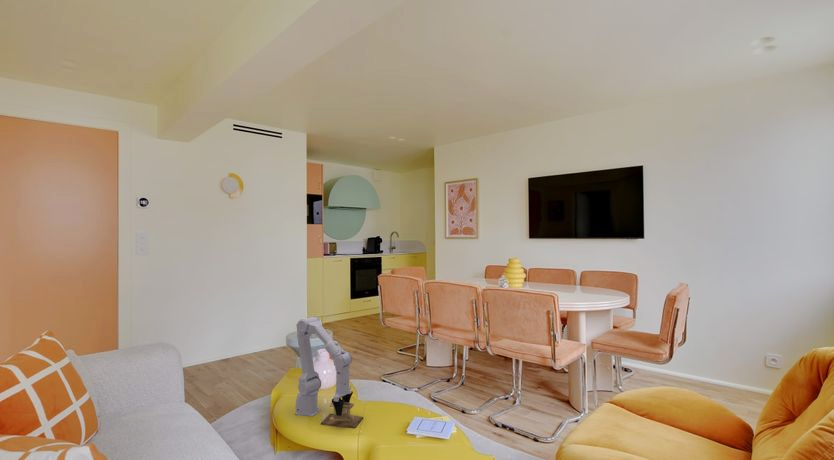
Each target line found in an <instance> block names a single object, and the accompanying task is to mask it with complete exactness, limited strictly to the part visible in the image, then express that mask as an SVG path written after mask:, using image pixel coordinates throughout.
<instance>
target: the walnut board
mask: <svg viewBox="0 0 834 460" xmlns="http://www.w3.org/2000/svg"><path fill="white" fill-rule="evenodd" d="M333 414H334V413H329V414H328V415H327V416H326V417H325V418H324V419H323V420H322V421H321V422H320V425H321V426H329V427H340V428H346V429H347V428H350V429H356V428H357V427H358V426H359V424H361V422H362V420H364V416H362V415H361V416H360V415H351V414H350V416H353V417H354V420H353V421H352V422H351V423H349V422H340V421H330V417H331V416H332V415H333Z"/></svg>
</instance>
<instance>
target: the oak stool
mask: <svg viewBox="0 0 834 460" xmlns="http://www.w3.org/2000/svg"><path fill="white" fill-rule="evenodd" d="M354 406H355V403H354V402H344V404H343V409H342V415H341V416H337V415H336V411H335V408H334V405H333V403H332V402H331V403H329V407H331V408H333V413H332V414H333V415H332V416H331V417H330V421H340V422H349V423H351V422H352V421H353V420H354V417H353V416H354V415H351V409H352V408H353V407H354ZM350 415H351V416H350Z"/></svg>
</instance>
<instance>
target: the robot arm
mask: <svg viewBox="0 0 834 460" xmlns="http://www.w3.org/2000/svg"><path fill="white" fill-rule="evenodd" d="M295 326H296V332H297V335H296V336H297V344H298V352H299V357H300V365H301V371H302V372H301V375H300V377H299V378H298V386H297V389H298V393H297V395H296V398H295V413H294V415H298V416H306V417H314V416H316V415H317V414H318V413H319V412H320V411H321V408H320V407H318V400H319V399H318V398H319V395H318V393H319V392H320V389H321V387H322V380H321V378H320V376H319V372H317V371H315V366H314V360H313V353H312V347H311V340H310V339H311V338H310V337H311V336H312V335H313V334H314V335H316V337H318V339H319V340H320V341H321V342H322V343H323V344H324V345H325V350H326V352H327V353H328V355H330V357H331V358H332V359H333V365H334V367H335V371H336V372H335V373H336V374H335V375H336V376H335V377H336V378H335V387H336V390H335V392H334V396H333V398H332V399H331V403H333V405H334V407H333V409H334V408H335V411H336V415H337V416H341V415H342V409H343V404H344V402H349V403H351V399H352V397H353V396H352V395H353V393H354V391H353V390H352V389H351V387H352V385H350V365H351V364H352V362H353V357H352V355H351V353H350V352H349V351H346V350H344V349H343V348H342V347H341V346H340V344H339V342H338V341H336V340H333V339H332V337H330V335H329V334H328V332H327V331H326V329H325V328H324V326H323V322H322V321H321V319H320V318H319V316H311V317H307V318H306V317H305V318H301V319H299V321H297V322H296V325H295Z"/></svg>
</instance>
